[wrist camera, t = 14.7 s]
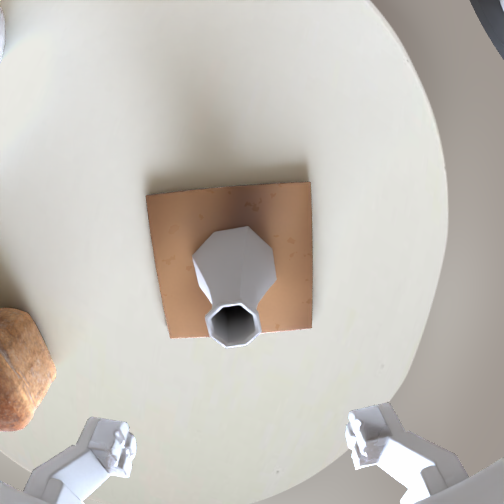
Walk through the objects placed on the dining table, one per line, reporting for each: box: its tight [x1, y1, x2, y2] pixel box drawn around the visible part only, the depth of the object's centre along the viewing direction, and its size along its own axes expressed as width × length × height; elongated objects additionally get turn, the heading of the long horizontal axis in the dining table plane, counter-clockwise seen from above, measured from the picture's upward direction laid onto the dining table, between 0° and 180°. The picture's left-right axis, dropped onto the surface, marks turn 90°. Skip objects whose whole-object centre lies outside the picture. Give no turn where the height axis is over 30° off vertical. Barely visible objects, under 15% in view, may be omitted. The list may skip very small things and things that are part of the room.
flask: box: [192, 226, 277, 348], centre depth 22 cm, size 7×7×10 cm
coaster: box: [146, 182, 313, 338], centre depth 27 cm, size 14×14×1 cm
